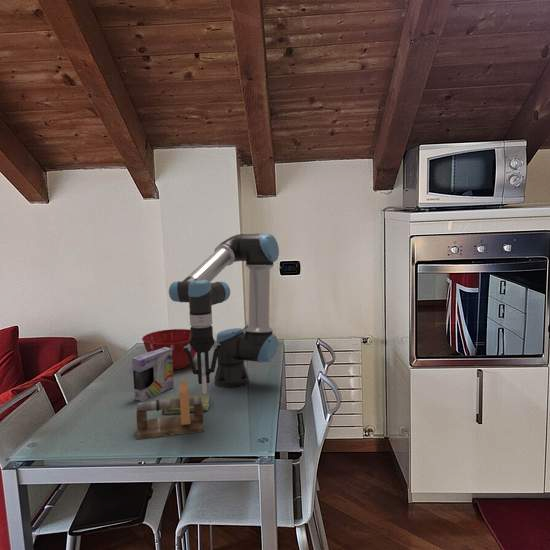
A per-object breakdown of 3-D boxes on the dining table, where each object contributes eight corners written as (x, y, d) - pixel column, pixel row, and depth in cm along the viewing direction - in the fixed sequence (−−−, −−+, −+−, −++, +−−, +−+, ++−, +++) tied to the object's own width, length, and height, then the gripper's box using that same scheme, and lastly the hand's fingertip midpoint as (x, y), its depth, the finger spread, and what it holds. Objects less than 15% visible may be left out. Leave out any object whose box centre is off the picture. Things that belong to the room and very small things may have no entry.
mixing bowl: (208, 369, 232) (207, 338, 230) (147, 378, 221) (145, 345, 220) (195, 355, 258) (194, 326, 256) (140, 362, 247) (138, 332, 246)
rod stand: (202, 417, 175) (200, 390, 174) (204, 431, 164) (202, 402, 162) (139, 424, 171) (137, 396, 170) (136, 439, 159) (134, 409, 158)
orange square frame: (189, 411, 174) (187, 381, 172) (190, 423, 163) (188, 392, 162) (180, 412, 173) (179, 382, 172) (181, 424, 162) (179, 393, 161)
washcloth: (209, 413, 180) (209, 404, 180) (161, 416, 178) (160, 408, 178) (210, 400, 193) (209, 392, 193) (165, 403, 191) (164, 395, 191)
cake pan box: (140, 403, 192) (137, 359, 190) (131, 400, 194) (128, 357, 192) (175, 388, 208) (172, 347, 206) (166, 386, 210) (164, 346, 208)
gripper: (182, 329, 161) (185, 398, 163) (221, 326, 163) (224, 394, 166) (181, 324, 168) (185, 390, 171) (219, 322, 171) (222, 387, 173)
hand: (204, 392), depth 168 cm, fingers closed
